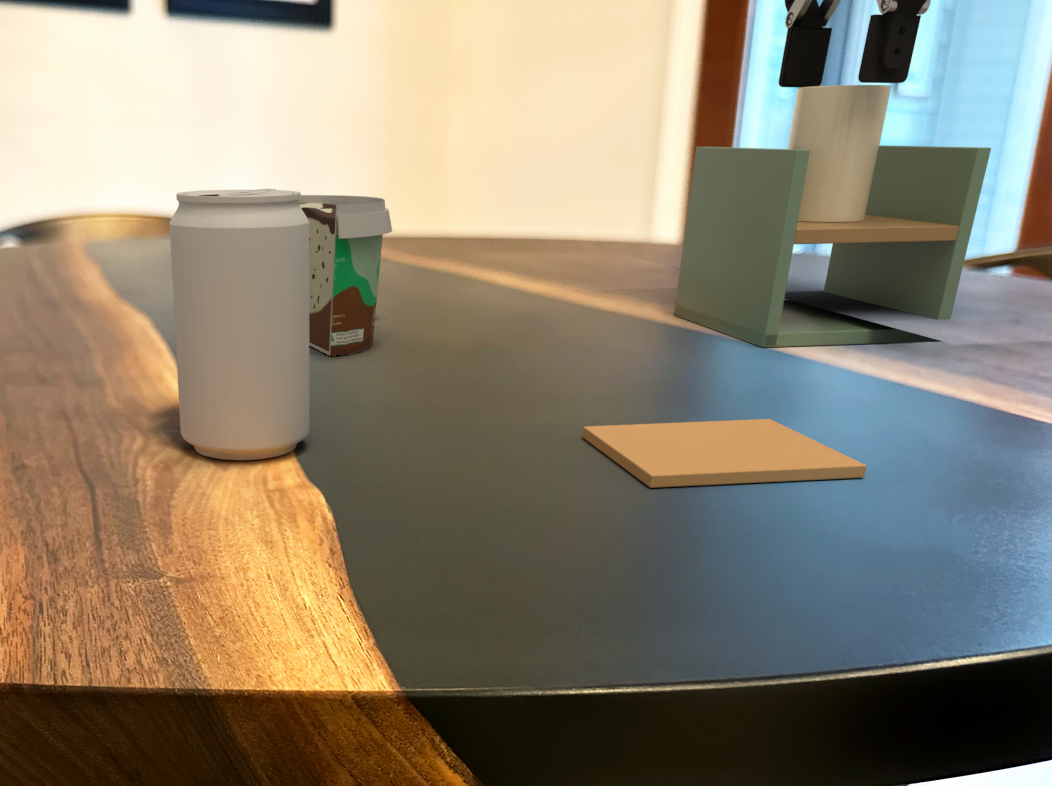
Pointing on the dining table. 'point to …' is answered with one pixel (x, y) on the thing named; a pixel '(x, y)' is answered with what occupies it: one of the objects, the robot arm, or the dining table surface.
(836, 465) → the mat
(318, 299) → the food container
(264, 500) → the dining table surface
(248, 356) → the beverage can
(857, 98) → the cream cylinder
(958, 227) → the rack
